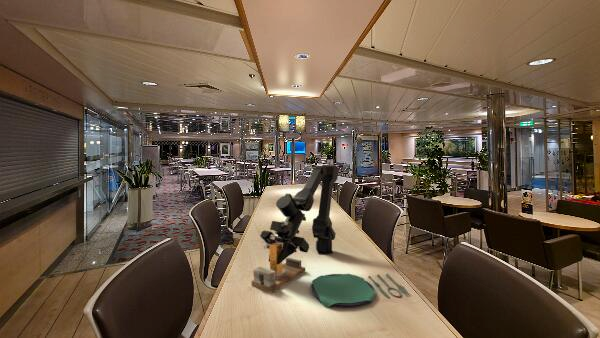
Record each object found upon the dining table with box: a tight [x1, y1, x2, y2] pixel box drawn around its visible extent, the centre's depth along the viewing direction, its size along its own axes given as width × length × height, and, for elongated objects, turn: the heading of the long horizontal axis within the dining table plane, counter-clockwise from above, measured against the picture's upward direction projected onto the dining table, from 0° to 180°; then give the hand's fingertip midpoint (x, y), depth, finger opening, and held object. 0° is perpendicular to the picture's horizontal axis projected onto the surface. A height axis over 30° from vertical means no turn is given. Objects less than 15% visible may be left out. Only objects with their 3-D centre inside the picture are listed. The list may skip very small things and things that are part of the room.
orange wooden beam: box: [258, 243, 286, 284], centre depth 92 cm, size 11×5×11 cm, turn 145°
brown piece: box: [251, 257, 306, 293], centre depth 97 cm, size 19×9×6 cm, turn 146°
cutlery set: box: [310, 273, 412, 308], centre depth 87 cm, size 20×30×2 cm, turn 99°
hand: (273, 262), depth 94 cm, fingers closed on orange wooden beam, 3 cm apart
